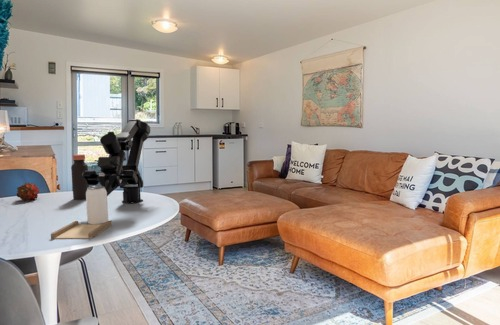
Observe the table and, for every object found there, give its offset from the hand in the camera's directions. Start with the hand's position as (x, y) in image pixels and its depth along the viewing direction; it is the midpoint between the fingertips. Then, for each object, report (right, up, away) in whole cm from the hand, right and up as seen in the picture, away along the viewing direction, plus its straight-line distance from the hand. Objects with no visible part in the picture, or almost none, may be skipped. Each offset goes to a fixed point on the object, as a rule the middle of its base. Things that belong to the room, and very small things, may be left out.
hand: (104, 196), depth 126 cm
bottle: (-26, -5, +37) cm, 46 cm away
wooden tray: (0, -9, -15) cm, 18 cm away
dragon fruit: (-49, -5, +37) cm, 62 cm away
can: (0, -8, -5) cm, 10 cm away
